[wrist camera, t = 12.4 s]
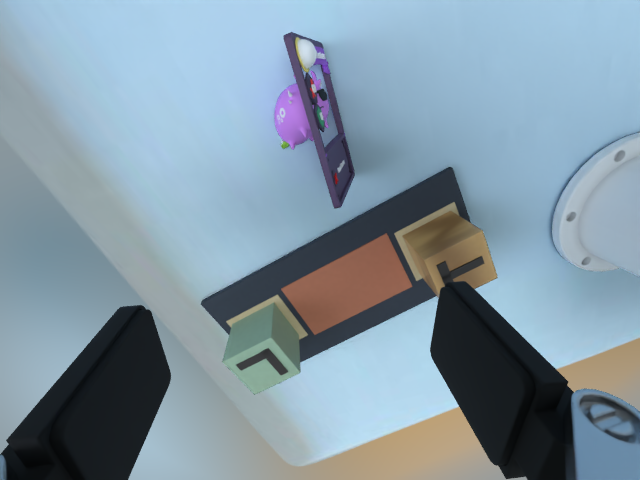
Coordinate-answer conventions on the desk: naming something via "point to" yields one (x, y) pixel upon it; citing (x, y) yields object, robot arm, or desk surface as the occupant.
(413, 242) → the honey letter block
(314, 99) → the purple boxed toy figure
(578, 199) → the robot arm
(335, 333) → the word mat
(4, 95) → the desk surface
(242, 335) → the sage letter block
